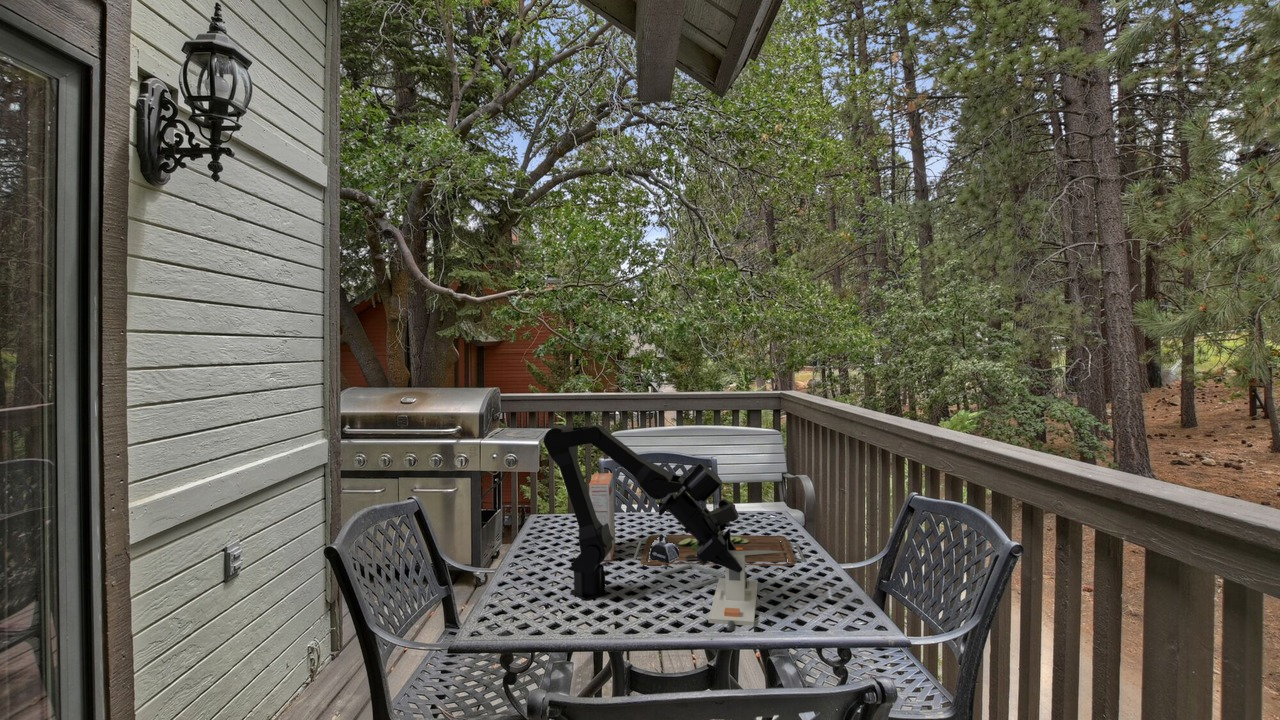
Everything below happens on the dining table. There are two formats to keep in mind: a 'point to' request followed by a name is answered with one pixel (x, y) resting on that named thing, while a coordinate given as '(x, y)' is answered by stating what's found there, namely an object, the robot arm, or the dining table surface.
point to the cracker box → (604, 503)
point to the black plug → (745, 580)
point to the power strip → (734, 606)
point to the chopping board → (752, 545)
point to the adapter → (736, 579)
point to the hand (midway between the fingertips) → (741, 567)
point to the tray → (663, 574)
